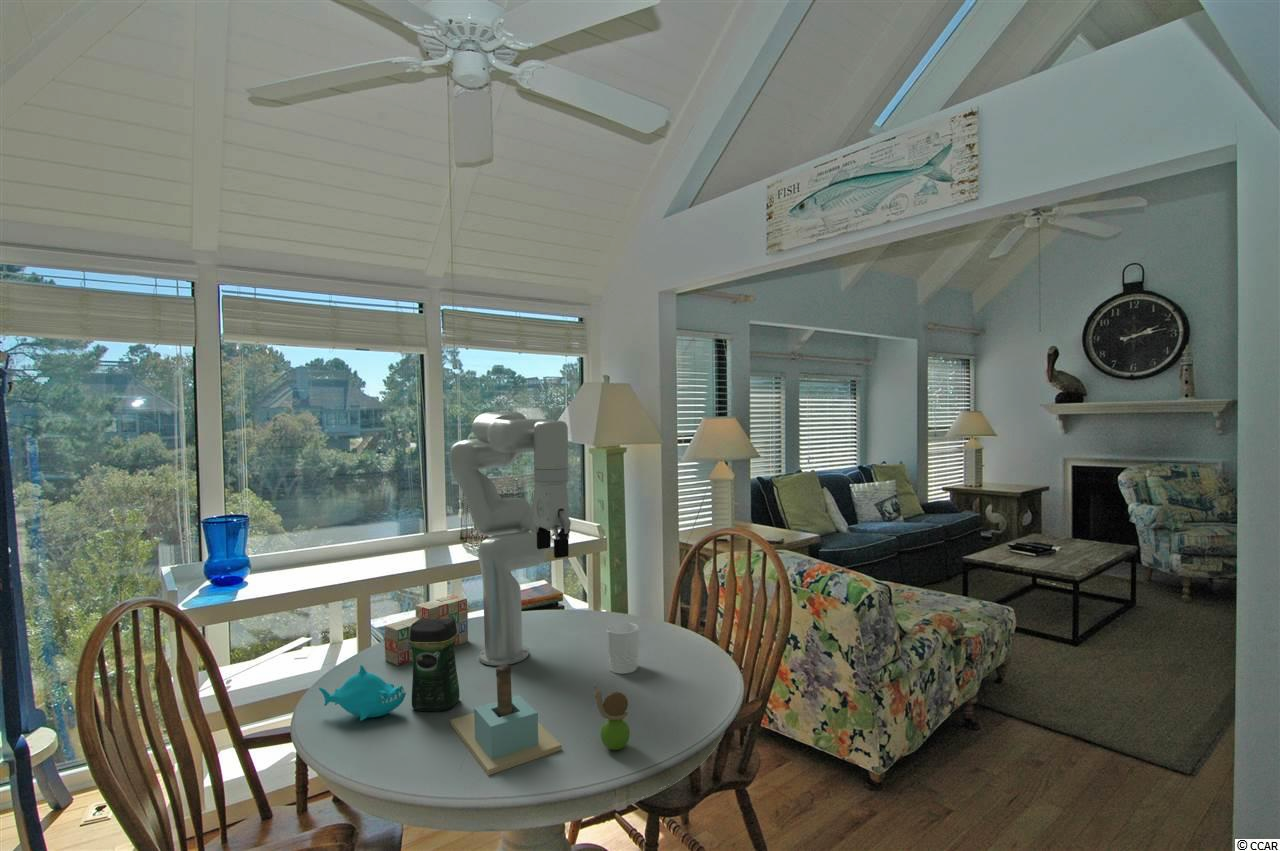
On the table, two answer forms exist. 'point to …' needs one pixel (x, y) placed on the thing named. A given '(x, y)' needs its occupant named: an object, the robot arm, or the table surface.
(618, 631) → the white cup
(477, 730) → the shape sorter toy
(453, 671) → the coffee jar
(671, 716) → the table surface
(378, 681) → the toy shark
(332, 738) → the table surface
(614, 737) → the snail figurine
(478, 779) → the table surface
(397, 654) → the stack of blocks
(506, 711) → the brown wooden rod
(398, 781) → the table surface
